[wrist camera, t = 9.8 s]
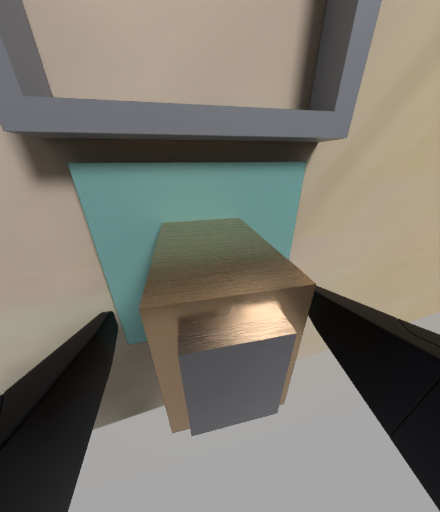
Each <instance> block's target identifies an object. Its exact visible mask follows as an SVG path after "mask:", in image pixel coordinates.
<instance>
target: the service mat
mask: <svg viewBox="0 0 440 512" xmlns="http://www.w3.org/2000/svg"><path fill="white" fill-rule="evenodd" d="M68 166H69V169H70V172H71V175H72V178H73V181H74V184H75V187H76V190H77V193H78V196H79V199H80V202H81V205H82V208H83V211H84V214H85V217H86V220H87V223H88V226H89V229H90V232H91V235H92V238H93V241H94V244H95V247H96V250H97V253H98V256H99V259H100V262H101V265H102V268H103V271H104V274H105V277H106V280H107V283H108V286H109V289H110V292H111V295H112V298H113V301H114V304H115V307H116V310H117V313H118V316H119V319H120V322H121V325H122V328H123V331H124V334H125V337H126V340H127V343H128V345H129V344H135V343H141V342H147V337H146V334H145V330H144V326H143V322H142V319H141V315H140V311H139V307H140V303H141V299H142V296H143V292H144V288H145V284H146V281H147V277H148V273H149V269H150V266H151V262H152V258H153V254H154V251H155V247H156V243H157V239H158V236H159V232H160V228H161V225H162V223H166V222H181V221H197V220H212V219H227V218H240V219H242V220H243V221H244V222H245V223H246V224H247V225H249V226H250V227H251V228H252V229H253V230H254V231H255V232H257V233H258V234H259V235H260V236H261V237H262V238H264V239H265V240H266V241H267V242H268V243H269V244H271V245H272V246H273V247H274V248H275V249H276V250H277V251H279V252H280V253H281V254H282V255H283V256H284V257H286V258H287V259H288V260H289V256H290V250H291V245H292V239H293V233H294V228H295V222H296V217H297V211H298V206H299V200H300V195H301V189H302V183H303V178H304V172H305V167H306V162H158V163H68Z"/></svg>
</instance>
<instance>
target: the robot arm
mask: <svg viewBox="0 0 440 512" xmlns="http://www.w3.org/2000/svg"><path fill="white" fill-rule="evenodd" d="M308 316H309V317H310V319H311V321H312V323H313V325H314V326H315V328H316V330H317V331H318V333H319V334H320V336H321V337H322V339H323V340H324V342H325V343H326V345H327V346H328V347H329V349H330V350H331V352H332V353H333V355H334V356H335V358H336V359H337V361H338V362H339V363H340V365H341V367H342V368H343V369H344V371H345V372H346V374H347V375H348V377H349V378H350V380H351V381H352V382H353V384H354V385H355V387H356V388H357V390H358V391H359V393H360V394H361V396H362V397H363V399H364V400H365V402H366V403H367V405H368V406H369V408H370V409H371V410H372V412H373V413H374V415H375V416H376V418H377V419H378V421H379V422H380V424H381V425H382V427H383V428H384V430H385V431H386V432H387V434H388V435H389V437H390V438H391V440H392V441H393V443H394V445H395V446H396V447H397V449H398V450H399V452H400V453H401V455H402V456H403V458H404V459H405V461H406V462H407V464H408V465H409V467H410V468H411V469H412V471H413V472H414V474H415V475H416V477H417V478H418V480H419V481H420V483H421V484H422V486H423V487H424V489H425V490H426V492H427V493H428V494H429V496H430V497H431V499H432V500H433V502H434V503H435V505H436V506H437V508H438V509H439V511H440V334H437V333H434V332H431V331H429V330H426V329H423V328H421V327H418V326H416V325H413V324H411V323H408V322H406V321H403V320H401V319H397V318H396V317H393V316H391V315H388V314H386V313H383V312H381V311H378V310H376V309H373V308H371V307H368V306H366V305H363V304H361V303H358V302H356V301H353V300H351V299H348V298H346V297H343V296H341V295H338V294H336V293H333V292H331V291H328V290H326V289H323V288H321V287H318V286H315V290H314V294H313V298H312V301H311V305H310V309H309V312H308ZM117 334H118V324H117V321H116V318H115V315H114V313H113V312H112V311H108V312H102V313H100V314H99V315H98V316H97V317H95V318H94V319H93V320H92V321H90V322H89V323H88V324H87V325H86V326H84V327H83V328H82V329H81V330H79V331H78V332H77V333H76V334H75V335H73V336H72V337H71V338H70V339H68V340H67V341H66V342H65V343H64V344H62V345H61V346H60V347H59V348H58V349H56V350H55V351H54V352H53V353H51V354H50V355H49V356H48V357H47V358H45V359H44V360H43V361H42V362H40V363H39V364H38V365H37V366H36V367H34V368H33V369H32V370H31V371H29V372H28V373H27V374H26V375H25V376H23V377H22V378H21V379H20V380H19V381H17V382H16V383H15V384H14V385H12V386H11V387H10V388H9V389H8V390H6V391H5V392H4V394H2V395H0V512H68V509H69V506H70V503H71V499H72V496H73V492H74V489H75V486H76V483H77V479H78V476H79V473H80V469H81V466H82V463H83V459H84V456H85V453H86V449H87V446H88V443H89V439H90V436H91V433H92V430H93V426H94V423H95V420H96V416H97V413H98V410H99V406H100V403H101V400H102V396H103V393H104V390H105V386H106V383H107V380H108V376H109V373H110V369H111V366H112V361H113V355H114V350H115V345H116V339H117Z"/></svg>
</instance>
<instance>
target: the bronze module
mask: <svg viewBox="0 0 440 512" xmlns="http://www.w3.org/2000/svg"><path fill="white" fill-rule="evenodd" d="M315 286H316V283H315V282H313V281H312V280H311V279H310V278H309V277H308V276H306V275H305V274H304V273H303V272H302V271H301V270H299V269H298V268H297V267H296V266H295V265H294V264H293V263H291V262H290V261H289V260H288V259H287V258H286V257H284V256H283V255H282V254H281V253H280V252H279V251H277V250H276V249H275V248H274V247H273V246H272V245H271V244H269V243H268V242H267V241H266V240H265V239H264V238H262V237H261V236H260V235H259V234H258V233H257V232H255V231H254V230H253V229H252V228H251V227H250V226H249V225H247V224H246V223H245V222H244V221H243V220H242V219H240V218H227V219H212V220H197V221H181V222H166V223H162V225H161V228H160V232H159V236H158V239H157V243H156V247H155V251H154V254H153V258H152V262H151V266H150V269H149V273H148V277H147V281H146V284H145V288H144V292H143V296H142V299H141V303H140V307H139V311H140V315H141V319H142V322H143V326H144V330H145V334H146V337H147V341H148V345H149V348H150V352H151V356H152V359H153V363H154V367H155V371H156V374H157V378H158V382H159V385H160V389H161V393H162V396H163V400H164V404H165V408H166V411H167V415H168V419H169V422H170V426H171V429H172V433H175V432H179V431H182V430H186V429H191V435H192V436H194V435H198V434H201V433H205V432H209V431H213V430H216V429H220V428H224V427H228V426H231V425H235V424H238V423H242V422H246V421H250V420H254V419H258V418H261V417H265V416H269V415H272V414H276V413H277V412H278V408H279V405H282V404H284V402H285V398H286V395H287V391H288V387H289V383H290V380H291V376H292V372H293V369H294V365H295V361H296V357H297V354H298V350H299V346H300V342H301V339H302V335H303V331H304V327H305V324H306V320H307V316H308V312H309V309H310V305H311V301H312V298H313V294H314V290H315Z"/></svg>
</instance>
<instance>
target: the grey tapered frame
mask: <svg viewBox="0 0 440 512" xmlns="http://www.w3.org/2000/svg"><path fill="white" fill-rule="evenodd" d="M381 1H382V0H327V5H326V10H325V16H324V22H323V28H322V34H321V40H320V46H319V52H318V58H317V64H316V70H315V76H314V82H313V88H312V94H311V100H310V106H309V110H294V109H274V108H254V107H234V106H214V105H194V104H174V103H154V102H134V101H114V100H94V99H74V98H54V97H53V96H52V93H51V90H50V87H49V84H48V81H47V77H46V74H45V71H44V68H43V65H42V62H41V59H40V56H39V52H38V49H37V46H36V43H35V40H34V37H33V34H32V31H31V28H30V24H29V21H28V18H27V15H26V12H25V9H24V6H23V3H22V0H0V124H1V126H2V129H3V131H7V132H12V133H17V134H22V135H27V136H33V137H38V138H71V139H135V140H199V141H263V142H325V141H331V140H338V139H344V138H347V135H348V131H349V127H350V123H351V120H352V116H353V112H354V108H355V104H356V100H357V96H358V92H359V88H360V84H361V80H362V76H363V72H364V68H365V64H366V61H367V57H368V53H369V49H370V45H371V41H372V37H373V33H374V29H375V25H376V21H377V17H378V13H379V9H380V5H381Z"/></svg>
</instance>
